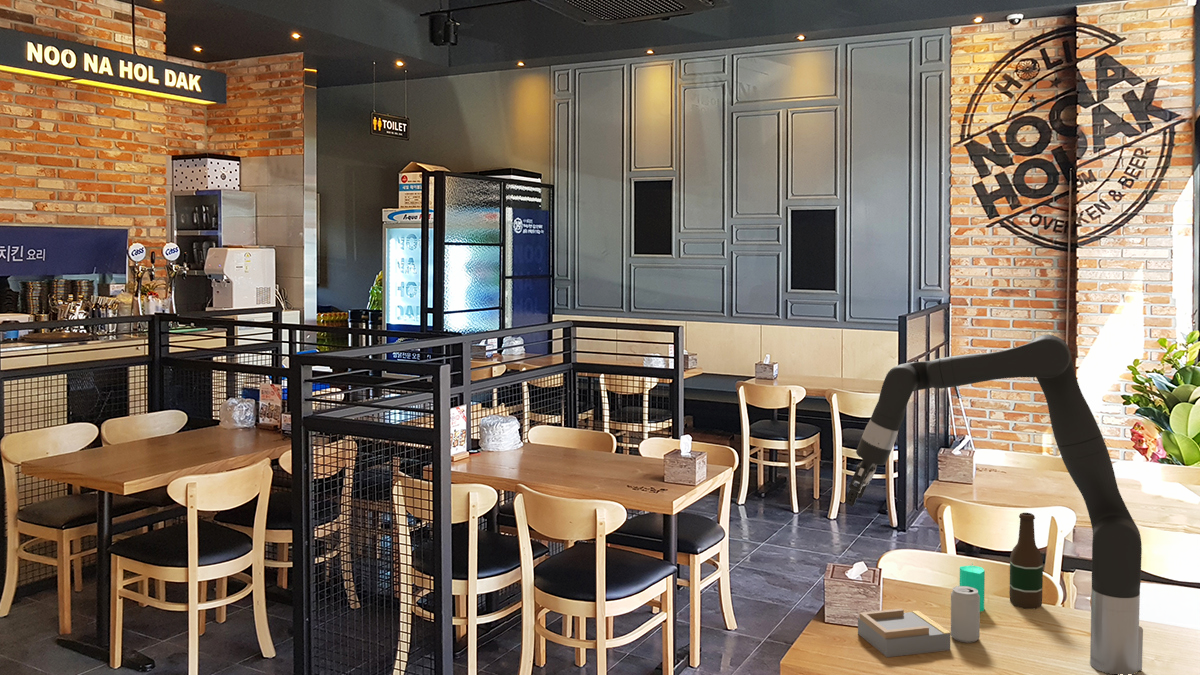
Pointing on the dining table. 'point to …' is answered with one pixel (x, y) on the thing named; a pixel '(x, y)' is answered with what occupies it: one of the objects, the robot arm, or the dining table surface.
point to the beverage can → (965, 614)
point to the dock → (902, 632)
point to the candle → (974, 580)
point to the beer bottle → (1026, 567)
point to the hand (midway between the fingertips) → (853, 500)
